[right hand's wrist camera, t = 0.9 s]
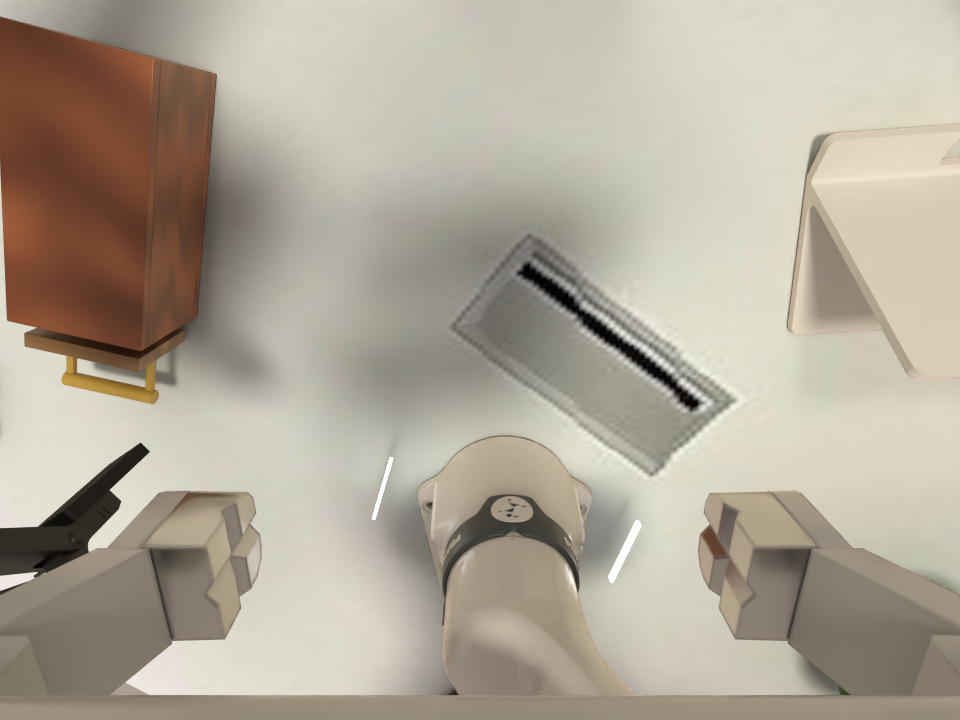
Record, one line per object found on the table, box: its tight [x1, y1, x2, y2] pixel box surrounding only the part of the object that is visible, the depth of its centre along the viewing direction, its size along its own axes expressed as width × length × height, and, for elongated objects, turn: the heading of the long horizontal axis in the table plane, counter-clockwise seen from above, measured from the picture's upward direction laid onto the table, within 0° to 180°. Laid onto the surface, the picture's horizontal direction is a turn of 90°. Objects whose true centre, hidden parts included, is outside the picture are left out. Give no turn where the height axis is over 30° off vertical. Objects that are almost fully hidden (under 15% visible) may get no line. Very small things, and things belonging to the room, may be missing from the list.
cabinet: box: [0, 17, 216, 351], centre depth 46 cm, size 22×10×10 cm, turn 166°
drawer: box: [24, 328, 185, 404], centre depth 48 cm, size 26×9×8 cm, turn 166°
